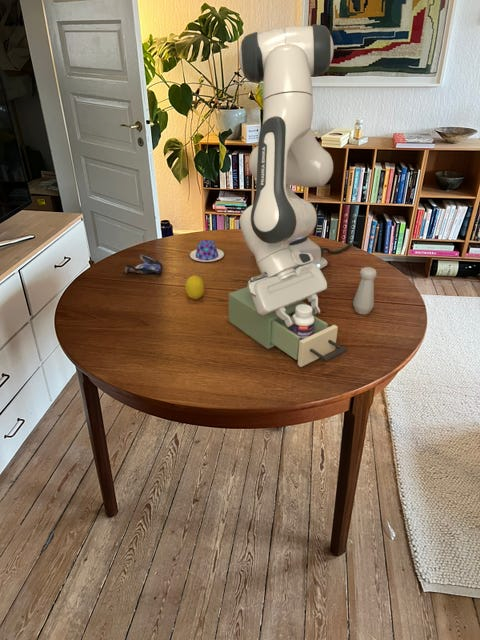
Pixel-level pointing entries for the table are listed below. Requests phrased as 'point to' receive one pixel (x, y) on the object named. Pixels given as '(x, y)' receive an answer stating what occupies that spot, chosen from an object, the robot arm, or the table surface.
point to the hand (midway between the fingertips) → (304, 319)
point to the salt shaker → (365, 291)
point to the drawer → (307, 341)
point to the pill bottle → (303, 321)
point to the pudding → (206, 252)
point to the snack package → (145, 266)
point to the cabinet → (253, 316)
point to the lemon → (194, 287)
